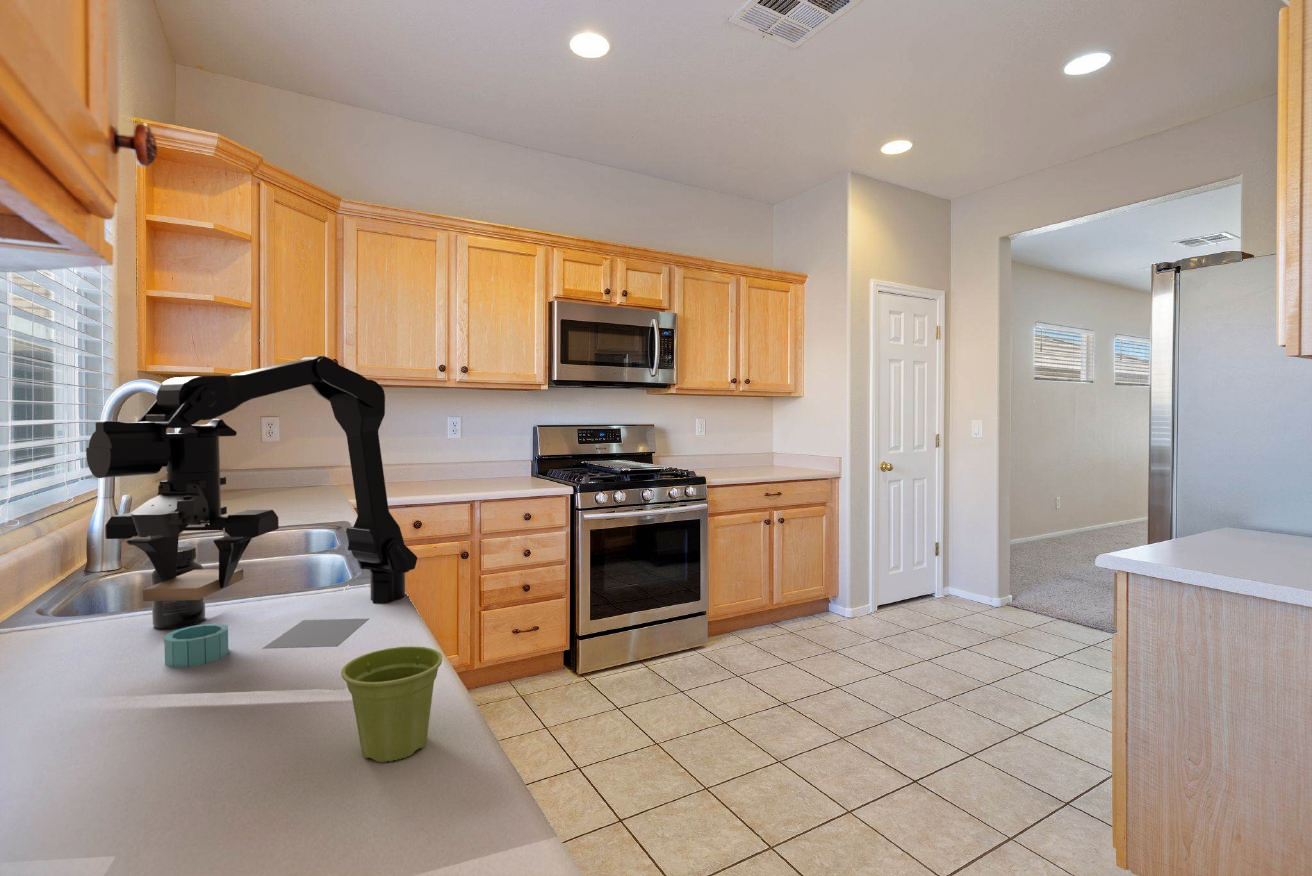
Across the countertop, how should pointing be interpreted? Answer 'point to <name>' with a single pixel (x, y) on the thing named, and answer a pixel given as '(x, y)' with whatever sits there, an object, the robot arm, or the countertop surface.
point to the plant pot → (392, 699)
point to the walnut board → (189, 586)
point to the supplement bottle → (180, 610)
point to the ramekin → (196, 645)
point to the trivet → (317, 633)
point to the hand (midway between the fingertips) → (196, 588)
